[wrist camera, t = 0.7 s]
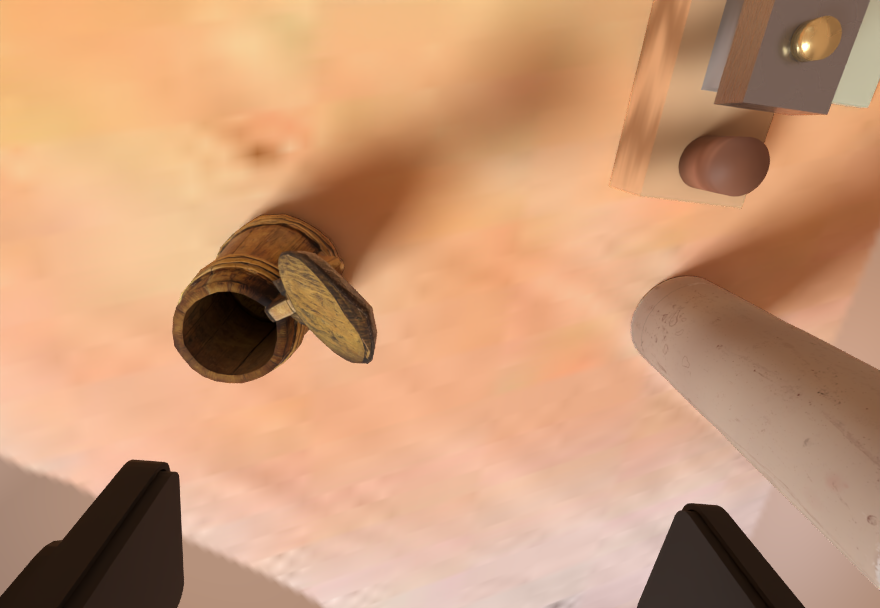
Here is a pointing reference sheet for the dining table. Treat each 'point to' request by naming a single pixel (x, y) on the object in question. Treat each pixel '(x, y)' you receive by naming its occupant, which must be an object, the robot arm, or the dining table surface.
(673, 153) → the body
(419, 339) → the dining table surface
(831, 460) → the thermos bottle
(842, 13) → the lever cap
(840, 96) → the felt mat
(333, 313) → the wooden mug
